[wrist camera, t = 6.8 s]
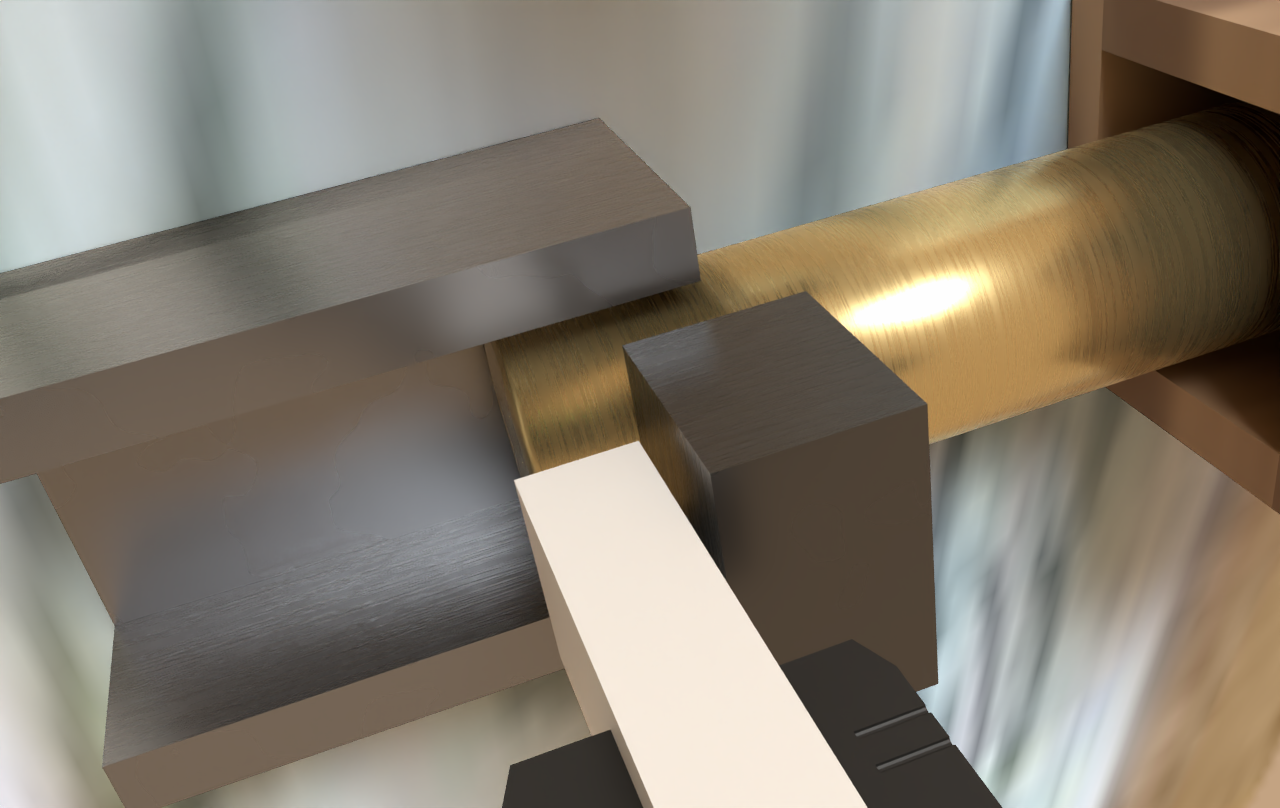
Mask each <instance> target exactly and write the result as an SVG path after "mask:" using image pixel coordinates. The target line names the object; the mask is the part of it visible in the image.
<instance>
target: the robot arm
mask: <svg viewBox="0 0 1280 808" xmlns="http://www.w3.org/2000/svg"><path fill="white" fill-rule="evenodd" d="M514 483H515V487H516V490H517V494H518V498H519V502H520V506H521V509H522V513H523V517H524V521H525V525H526V528H527V532H528V536H529V540H530V544H531V547H532V551H533V555H534V559H535V563H536V566H537V570H538V574H539V578H540V582H541V586H542V589H543V593H544V597H545V601H546V605H547V608H548V612H549V616H550V620H551V624H552V627H553V631H554V635H555V639H556V643H557V646H558V650H559V654H560V657H561V660H562V662H563V665H564V667H565V670H566V672H567V675H568V678H569V680H570V683H571V685H572V688H573V690H574V693H575V695H576V698H577V700H578V703H579V705H580V708H581V710H582V713H583V715H584V718H585V720H586V723H587V725H588V728H589V731H590V733H591V737H588V738H585V739H582V740H580V741H577V742H574V743H571V744H569V745H566V746H563V747H560V748H557V749H555V750H552V751H549V752H546V753H544V754H541V755H538V756H535V757H532V758H530V759H527V760H524V761H521V762H519V763H516V764H513V765H510V770H509V775H508V780H507V785H506V790H505V795H504V801H503V806H502V808H1002V807H1001V805H1000V804H999V803H998V801H997V800H996V799H995V797H994V796H993V794H992V793H991V792H990V790H989V789H988V788H987V786H986V785H985V784H984V782H983V781H982V780H981V778H980V777H979V776H978V774H977V773H976V772H975V770H974V769H973V768H972V766H971V765H970V764H969V762H968V761H967V760H966V758H965V757H964V756H963V754H962V753H961V752H960V750H959V749H958V748H957V746H956V745H952V743H951V741H950V739H949V736H948V734H947V733H946V732H945V730H944V729H943V728H942V726H941V725H940V724H939V722H938V721H937V720H936V718H935V717H934V716H933V714H932V713H928V711H927V709H926V706H925V704H924V702H923V701H922V700H921V698H920V697H919V696H918V694H917V693H916V692H915V690H914V689H913V688H912V686H911V685H910V684H909V682H908V681H907V680H906V678H905V677H904V676H903V674H902V673H901V671H900V670H899V669H898V667H897V666H896V665H894V664H892V663H891V662H889V661H887V660H886V659H884V658H882V657H881V656H879V655H877V654H876V653H874V652H873V651H871V650H869V649H868V648H866V647H864V646H863V645H861V644H859V643H858V642H856V641H854V640H853V639H851V640H848V641H845V642H843V643H840V644H837V645H834V646H832V647H829V648H826V649H823V650H820V651H818V652H815V653H812V654H809V655H807V656H804V657H801V658H798V659H795V660H793V661H790V662H787V663H784V664H782V665H778V663H777V662H776V660H775V659H774V657H773V655H772V654H771V652H770V651H769V649H768V647H767V646H766V644H765V643H764V641H763V639H762V638H761V636H760V635H759V633H758V631H757V630H756V628H755V627H754V625H753V623H752V622H751V620H750V619H749V617H748V615H747V614H746V612H745V611H744V609H743V607H742V606H741V604H740V603H739V601H738V599H737V598H736V596H735V594H734V593H733V591H732V590H731V588H730V586H729V585H728V583H727V582H726V580H725V578H724V577H723V575H722V574H721V572H720V570H719V569H718V567H717V566H716V564H715V562H714V561H713V559H712V558H711V556H710V554H709V553H708V551H707V550H706V548H705V546H704V545H703V543H702V542H701V540H700V538H699V537H698V535H697V534H696V532H695V530H694V529H693V527H692V526H691V524H690V522H689V521H688V519H687V518H686V516H685V514H684V513H683V511H682V510H681V508H680V506H679V505H678V503H677V502H676V500H675V498H674V497H673V495H672V494H671V492H670V490H669V489H668V487H667V485H666V484H665V482H664V481H663V479H662V477H661V476H660V474H659V473H658V471H657V469H656V468H655V466H654V465H653V463H652V461H651V460H650V458H649V457H648V455H647V453H646V452H645V450H644V449H643V447H642V445H641V444H640V442H639V441H636V442H633V443H630V444H627V445H623V446H620V447H617V448H614V449H611V450H608V451H604V452H601V453H598V454H595V455H592V456H589V457H585V458H582V459H579V460H576V461H573V462H570V463H567V464H563V465H560V466H557V467H554V468H551V469H548V470H544V471H541V472H538V473H535V474H532V475H529V476H525V477H522V478H519V479H516V480H514Z"/></svg>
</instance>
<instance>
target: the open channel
mask: <svg viewBox="0 0 1280 808" xmlns="http://www.w3.org/2000/svg"><path fill="white" fill-rule="evenodd" d="M699 281H701V278H700V271H699V264H698V257H697V250H696V243H695V236H694V229H693V223H692V216H691V209H690V206H688V205H687V204H686V203H685V202H684V201H683V200H682V199H681V198H680V197H679V196H678V195H677V194H676V193H675V192H674V191H673V190H672V189H671V188H670V187H669V186H668V185H667V184H666V183H665V182H664V181H663V180H662V179H661V178H660V177H659V176H658V175H657V174H656V173H655V172H654V171H653V170H652V169H651V168H650V167H649V166H648V165H647V164H646V163H645V162H643V161H642V160H641V159H640V158H639V157H638V156H637V155H636V154H635V153H634V152H633V151H632V150H631V149H630V148H629V147H628V146H627V145H626V144H625V143H624V142H623V141H622V140H621V139H620V138H619V137H618V136H617V135H616V134H615V133H614V132H613V131H612V130H611V129H610V128H609V127H608V126H607V125H606V124H605V123H604V122H603V121H602V120H601V119H600V118H597V119H594V120H590V121H586V122H582V123H578V124H574V125H570V126H567V127H563V128H559V129H555V130H551V131H547V132H543V133H540V134H536V135H532V136H528V137H524V138H520V139H516V140H513V141H509V142H505V143H501V144H497V145H493V146H489V147H486V148H482V149H478V150H474V151H470V152H466V153H462V154H459V155H455V156H451V157H447V158H443V159H439V160H435V161H432V162H428V163H424V164H420V165H416V166H412V167H408V168H405V169H401V170H397V171H393V172H389V173H385V174H381V175H378V176H374V177H370V178H366V179H362V180H358V181H354V182H351V183H347V184H343V185H339V186H335V187H331V188H327V189H324V190H320V191H316V192H312V193H308V194H304V195H300V196H297V197H293V198H289V199H285V200H281V201H277V202H273V203H270V204H266V205H262V206H258V207H254V208H250V209H246V210H243V211H239V212H235V213H231V214H227V215H223V216H219V217H216V218H212V219H208V220H204V221H200V222H196V223H192V224H189V225H185V226H181V227H177V228H173V229H169V230H165V231H162V232H158V233H154V234H150V235H146V236H142V237H138V238H134V239H131V240H127V241H123V242H119V243H115V244H111V245H107V246H104V247H100V248H96V249H92V250H88V251H84V252H80V253H77V254H73V255H69V256H65V257H61V258H57V259H53V260H50V261H46V262H42V263H38V264H34V265H30V266H26V267H23V268H19V269H15V270H11V271H7V272H3V273H0V484H1V483H5V482H8V481H12V480H15V479H19V478H22V477H26V476H29V475H32V474H36V473H37V475H38V477H39V479H40V481H41V482H42V484H43V486H44V488H45V490H46V492H47V494H48V496H49V498H50V500H51V502H52V504H53V506H54V508H55V510H56V512H57V514H58V516H59V518H60V520H61V522H62V524H63V525H64V527H65V529H66V531H67V533H68V535H69V537H70V539H71V541H72V543H73V545H74V547H75V549H76V551H77V553H78V555H79V557H80V559H81V561H82V563H83V565H84V567H85V568H86V570H87V572H88V574H89V576H90V578H91V580H92V582H93V584H94V586H95V588H96V590H97V592H98V594H99V596H100V598H101V600H102V602H103V604H104V606H105V608H106V610H107V611H108V613H109V615H110V617H111V619H112V621H113V623H114V625H115V629H114V641H113V652H112V663H111V674H110V686H109V697H108V708H107V720H106V731H105V742H104V753H103V765H102V768H103V769H104V771H105V773H106V775H107V776H108V778H109V780H110V782H111V783H112V785H113V787H114V789H115V791H116V792H117V794H118V796H119V798H120V799H121V801H122V803H123V805H124V806H125V808H161V807H164V806H167V805H169V804H172V803H175V802H178V801H181V800H184V799H187V798H190V797H193V796H196V795H199V794H201V793H204V792H207V791H210V790H213V789H216V788H219V787H222V786H225V785H228V784H230V783H233V782H236V781H239V780H242V779H245V778H248V777H251V776H254V775H257V774H260V773H262V772H265V771H268V770H271V769H274V768H277V767H280V766H283V765H286V764H289V763H292V762H294V761H297V760H300V759H303V758H306V757H309V756H312V755H315V754H318V753H321V752H324V751H326V750H329V749H332V748H335V747H338V746H341V745H344V744H347V743H350V742H353V741H355V740H358V739H361V738H364V737H367V736H370V735H373V734H376V733H379V732H382V731H385V730H387V729H390V728H393V727H396V726H399V725H402V724H405V723H408V722H411V721H414V720H417V719H419V718H422V717H425V716H428V715H431V714H434V713H437V712H440V711H443V710H446V709H449V708H451V707H454V706H457V705H460V704H463V703H466V702H469V701H472V700H475V699H478V698H480V697H483V696H486V695H489V694H492V693H495V692H498V691H501V690H504V689H507V688H510V687H512V686H515V685H518V684H521V683H524V682H527V681H530V680H533V679H536V678H539V677H542V676H544V675H547V674H550V673H553V672H556V671H559V670H562V669H565V667H564V665H563V662H562V660H561V657H560V654H559V650H558V646H557V643H556V639H555V635H554V631H553V627H552V624H551V620H550V616H549V612H548V608H547V605H546V601H545V597H544V593H543V589H542V586H541V582H540V578H539V574H538V570H537V566H536V563H535V559H534V555H533V551H532V547H531V544H530V540H529V536H528V532H527V528H526V525H525V521H524V517H523V513H522V509H521V506H520V502H519V498H518V494H517V490H516V487H515V483H514V480H516V479H519V478H521V476H520V473H519V470H518V467H517V464H516V460H515V457H514V454H513V451H512V448H511V444H510V441H509V438H508V435H507V431H506V428H505V424H504V421H503V418H502V414H501V411H500V407H499V403H498V400H497V396H496V392H495V388H494V385H493V381H492V377H491V373H490V369H489V365H488V360H487V356H486V351H485V346H484V344H485V343H488V342H492V341H495V340H499V339H502V338H506V337H509V336H513V335H516V334H520V333H523V332H526V331H530V330H533V329H537V328H540V327H544V326H547V325H551V324H554V323H558V322H561V321H564V320H568V319H571V318H575V317H578V316H582V315H585V314H589V313H592V312H596V311H599V310H602V309H606V308H609V307H613V306H616V305H620V304H623V303H627V302H630V301H634V300H637V299H640V298H644V297H647V296H651V295H654V294H658V293H661V292H665V291H668V290H672V289H675V288H678V287H682V286H685V285H689V284H692V283H696V282H699Z"/></svg>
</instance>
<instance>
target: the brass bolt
mask: <svg viewBox="0 0 1280 808" xmlns="http://www.w3.org/2000/svg"><path fill="white" fill-rule="evenodd" d="M697 257H698V264H699V271H700V278H701V281H699V282H696V283H692V284H689V285H685V286H682V287H678V288H675V289H672V290H668V291H665V292H661V293H658V294H654V295H651V296H647V297H644V298H640V299H637V300H634V301H630V302H627V303H623V304H620V305H616V306H613V307H609V308H606V309H602V310H599V311H596V312H592V313H589V314H585V315H582V316H578V317H575V318H571V319H568V320H564V321H561V322H558V323H554V324H551V325H547V326H544V327H540V328H537V329H533V330H530V331H526V332H523V333H520V334H516V335H513V336H509V337H506V338H502V339H499V340H495V341H492V342H488V343H485V344H484V346H485V351H486V356H487V360H488V365H489V369H490V373H491V377H492V381H493V385H494V388H495V392H496V396H497V400H498V403H499V407H500V411H501V414H502V418H503V421H504V424H505V428H506V431H507V435H508V438H509V441H510V444H511V448H512V451H513V454H514V457H515V460H516V464H517V467H518V470H519V473H520V476H521V478H522V477H525V476H529V475H532V474H535V473H538V472H541V471H544V470H548V469H551V468H554V467H557V466H560V465H563V464H567V463H570V462H573V461H576V460H579V459H582V458H585V457H589V456H592V455H595V454H598V453H601V452H604V451H608V450H611V449H614V448H617V447H620V446H623V445H627V444H630V443H633V442H636V441H639V442H640V444H641V445H642V447H643V449H644V450H645V452H646V453H647V455H648V457H649V458H650V460H651V461H652V463H653V465H654V466H655V468H656V469H657V471H658V473H659V474H660V476H661V477H662V479H663V481H664V482H665V484H666V485H667V487H668V489H669V490H670V492H671V494H672V495H673V497H674V498H675V500H676V502H677V503H678V505H679V506H680V508H681V510H682V511H683V513H684V514H685V516H686V518H687V519H688V521H689V522H690V524H691V526H692V527H693V529H694V530H695V532H696V534H697V535H698V537H699V538H700V540H701V542H702V543H703V545H704V546H705V548H706V550H707V551H708V553H709V554H710V556H711V558H712V559H713V561H714V562H715V564H716V566H717V567H718V569H719V570H720V572H721V574H722V575H723V577H724V578H725V580H726V582H727V583H728V585H729V586H730V588H731V590H732V591H733V593H734V594H735V596H736V598H737V599H738V601H739V603H740V604H741V606H742V607H743V609H744V611H745V612H746V614H747V615H748V617H749V619H750V620H751V622H752V623H753V625H754V627H755V628H756V630H757V631H758V633H759V635H760V636H761V638H762V639H763V641H764V643H765V644H766V646H767V647H768V649H769V651H770V652H771V654H772V655H773V657H774V659H775V660H776V662H777V663H778V665H782V664H784V663H787V662H790V661H793V660H795V659H798V658H801V657H804V656H807V655H809V654H812V653H815V652H818V651H820V650H823V649H826V648H829V647H832V646H834V645H837V644H840V643H843V642H845V641H848V640H851V639H853V640H854V641H856V642H858V643H859V644H861V645H863V646H864V647H866V648H868V649H869V650H871V651H873V652H874V653H876V654H877V655H879V656H881V657H882V658H884V659H886V660H887V661H889V662H891V663H892V664H894V665H896V666H897V667H898V669H899V670H900V671H901V673H902V674H903V676H904V677H905V678H906V680H907V681H908V682H909V684H910V685H911V686H912V688H913V689H914V690H915V692H917V691H919V690H922V689H925V688H928V687H930V686H933V685H936V684H938V665H937V639H936V613H935V586H934V560H933V534H932V508H931V482H930V456H929V444H932V443H935V442H938V441H941V440H944V439H947V438H950V437H953V436H956V435H959V434H962V433H965V432H969V431H972V430H975V429H978V428H981V427H984V426H987V425H990V424H993V423H996V422H999V421H1002V420H1005V419H1008V418H1011V417H1014V416H1017V415H1020V414H1023V413H1027V412H1030V411H1033V410H1036V409H1039V408H1042V407H1045V406H1048V405H1051V404H1054V403H1057V402H1060V401H1063V400H1066V399H1069V398H1072V397H1075V396H1078V395H1081V394H1085V393H1088V392H1091V391H1094V390H1097V389H1100V388H1103V387H1106V386H1109V385H1112V384H1115V383H1118V382H1121V381H1124V380H1127V379H1130V378H1133V377H1136V376H1139V375H1143V374H1146V373H1149V372H1152V371H1155V370H1158V369H1161V368H1164V367H1167V366H1170V365H1173V364H1176V363H1179V362H1182V361H1185V360H1188V359H1191V358H1194V357H1197V356H1201V355H1204V354H1207V353H1210V352H1213V351H1216V350H1219V349H1222V348H1225V347H1228V346H1231V345H1234V344H1237V343H1240V342H1243V341H1246V340H1249V339H1252V338H1255V337H1259V336H1262V335H1265V334H1268V333H1271V332H1274V331H1277V330H1280V114H1278V113H1275V112H1272V111H1270V110H1267V109H1264V108H1261V107H1259V106H1256V105H1253V104H1250V103H1248V102H1245V101H1242V100H1238V101H1235V102H1231V103H1228V104H1224V105H1221V106H1217V107H1214V108H1210V109H1207V110H1203V111H1200V112H1196V113H1193V114H1189V115H1186V116H1182V117H1179V118H1175V119H1172V120H1168V121H1165V122H1161V123H1158V124H1154V125H1151V126H1147V127H1144V128H1140V129H1137V130H1133V131H1130V132H1126V133H1122V134H1119V135H1115V136H1112V137H1108V138H1105V139H1101V140H1098V141H1094V142H1091V143H1087V144H1084V145H1080V146H1077V147H1073V148H1070V149H1066V150H1063V151H1059V152H1056V153H1052V154H1049V155H1045V156H1042V157H1038V158H1035V159H1031V160H1028V161H1024V162H1021V163H1017V164H1014V165H1010V166H1007V167H1003V168H1000V169H996V170H993V171H989V172H986V173H982V174H979V175H975V176H972V177H968V178H965V179H961V180H958V181H954V182H951V183H947V184H944V185H940V186H937V187H933V188H930V189H926V190H923V191H919V192H916V193H912V194H909V195H905V196H902V197H898V198H895V199H891V200H887V201H884V202H880V203H877V204H873V205H870V206H866V207H863V208H859V209H856V210H852V211H849V212H845V213H842V214H838V215H835V216H831V217H828V218H824V219H821V220H817V221H814V222H810V223H807V224H803V225H800V226H796V227H793V228H789V229H786V230H782V231H779V232H775V233H772V234H768V235H765V236H761V237H758V238H754V239H751V240H747V241H744V242H740V243H737V244H733V245H730V246H726V247H723V248H719V249H716V250H712V251H709V252H705V253H702V254H698V255H697Z"/></svg>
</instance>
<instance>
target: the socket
mask: <svg viewBox="0 0 1280 808" xmlns="http://www.w3.org/2000/svg"><path fill="white" fill-rule="evenodd" d="M1238 100H1242V101H1245V102H1248V103H1250V104H1253V105H1256V106H1259V107H1261V108H1264V109H1267V110H1270V111H1272V112H1275V113H1278V114H1280V0H1072V27H1071V61H1070V95H1069V129H1068V149H1070V148H1073V147H1077V146H1080V145H1084V144H1087V143H1091V142H1094V141H1098V140H1101V139H1105V138H1108V137H1112V136H1115V135H1119V134H1122V133H1126V132H1130V131H1133V130H1137V129H1140V128H1144V127H1147V126H1151V125H1154V124H1158V123H1161V122H1165V121H1168V120H1172V119H1175V118H1179V117H1182V116H1186V115H1189V114H1193V113H1196V112H1200V111H1203V110H1207V109H1210V108H1214V107H1217V106H1221V105H1224V104H1228V103H1231V102H1235V101H1238ZM1106 388H1108V389H1109V390H1110V391H1112V392H1113V393H1114V394H1116V395H1117V396H1118V397H1120V398H1121V399H1123V400H1124V401H1125V402H1127V403H1128V404H1129V405H1131V406H1132V407H1134V408H1135V409H1136V410H1138V411H1139V412H1140V413H1142V414H1143V415H1145V416H1146V417H1147V418H1149V419H1150V420H1151V421H1153V422H1154V423H1156V424H1157V425H1158V426H1160V427H1161V428H1162V429H1164V430H1165V431H1166V432H1168V433H1169V434H1171V435H1172V436H1173V437H1175V438H1176V439H1177V440H1179V441H1180V442H1182V443H1183V444H1184V445H1186V446H1187V447H1188V448H1190V449H1191V450H1193V451H1194V452H1195V453H1197V454H1198V455H1199V456H1201V457H1202V458H1203V459H1205V460H1206V461H1208V462H1209V463H1210V464H1212V465H1213V466H1214V467H1216V468H1217V469H1219V470H1220V471H1221V472H1223V473H1224V474H1225V475H1227V476H1228V477H1230V478H1231V479H1232V480H1234V481H1235V482H1236V483H1238V484H1239V485H1241V486H1242V487H1243V488H1245V489H1246V490H1247V491H1249V492H1250V493H1251V494H1253V495H1254V496H1256V497H1257V498H1258V499H1260V500H1261V501H1262V502H1264V503H1265V504H1267V505H1268V506H1269V507H1271V508H1272V509H1273V510H1275V511H1276V512H1278V513H1279V514H1280V330H1277V331H1274V332H1271V333H1268V334H1265V335H1262V336H1259V337H1255V338H1252V339H1249V340H1246V341H1243V342H1240V343H1237V344H1234V345H1231V346H1228V347H1225V348H1222V349H1219V350H1216V351H1213V352H1210V353H1207V354H1204V355H1201V356H1197V357H1194V358H1191V359H1188V360H1185V361H1182V362H1179V363H1176V364H1173V365H1170V366H1167V367H1164V368H1161V369H1158V370H1155V371H1152V372H1149V373H1146V374H1143V375H1139V376H1136V377H1133V378H1130V379H1127V380H1124V381H1121V382H1118V383H1115V384H1112V385H1109V386H1106Z"/></svg>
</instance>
